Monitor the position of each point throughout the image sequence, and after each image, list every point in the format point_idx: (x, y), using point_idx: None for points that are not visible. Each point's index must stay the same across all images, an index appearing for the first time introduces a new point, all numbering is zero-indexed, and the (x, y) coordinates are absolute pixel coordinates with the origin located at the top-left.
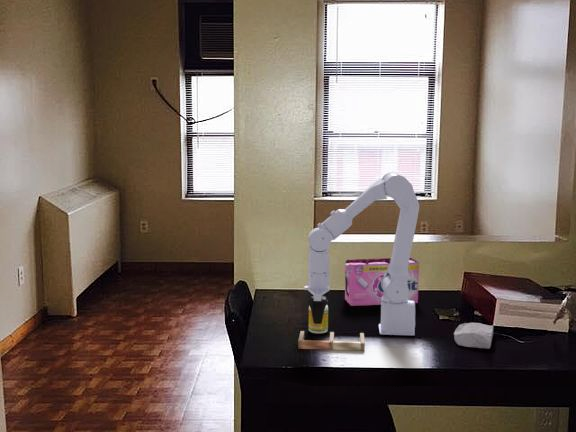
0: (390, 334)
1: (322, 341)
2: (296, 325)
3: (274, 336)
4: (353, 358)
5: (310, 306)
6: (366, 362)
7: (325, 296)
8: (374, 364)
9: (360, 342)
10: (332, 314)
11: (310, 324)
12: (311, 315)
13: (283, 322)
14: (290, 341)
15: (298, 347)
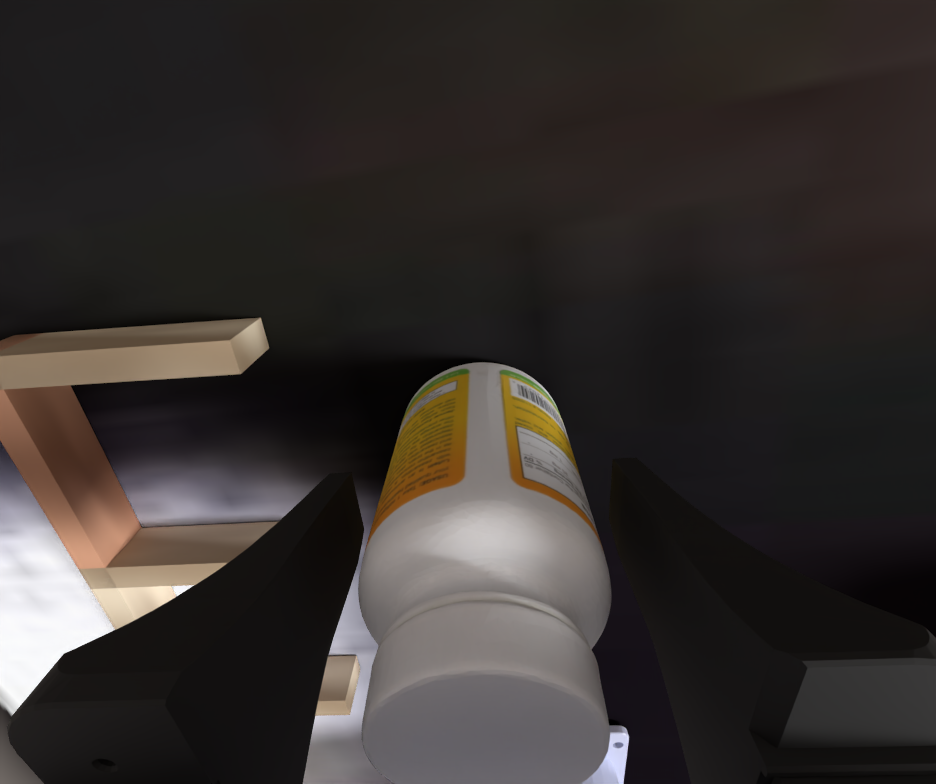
0: None
1: (64, 530)
2: (614, 222)
3: (207, 26)
4: (60, 637)
5: (149, 619)
6: None
7: (688, 753)
8: None
9: None
10: (923, 492)
11: (417, 413)
12: (393, 480)
13: (723, 37)
14: (143, 240)
15: (7, 340)
